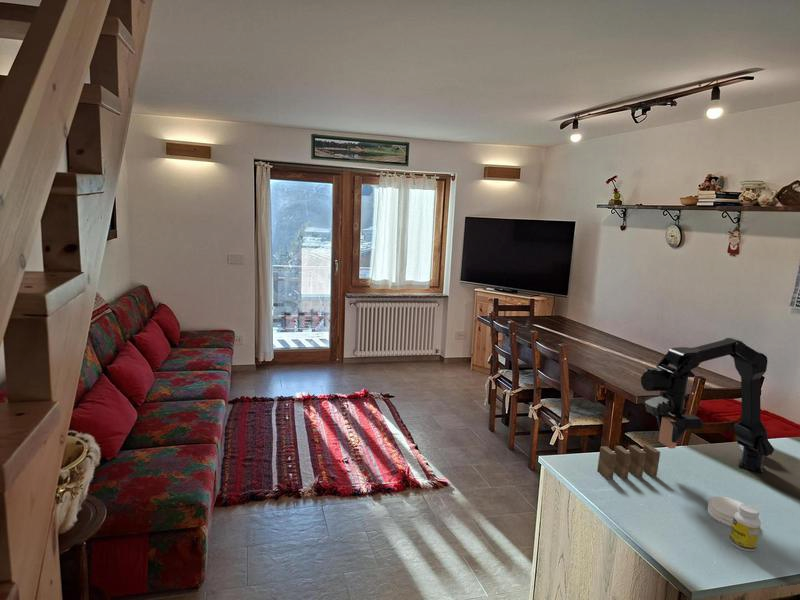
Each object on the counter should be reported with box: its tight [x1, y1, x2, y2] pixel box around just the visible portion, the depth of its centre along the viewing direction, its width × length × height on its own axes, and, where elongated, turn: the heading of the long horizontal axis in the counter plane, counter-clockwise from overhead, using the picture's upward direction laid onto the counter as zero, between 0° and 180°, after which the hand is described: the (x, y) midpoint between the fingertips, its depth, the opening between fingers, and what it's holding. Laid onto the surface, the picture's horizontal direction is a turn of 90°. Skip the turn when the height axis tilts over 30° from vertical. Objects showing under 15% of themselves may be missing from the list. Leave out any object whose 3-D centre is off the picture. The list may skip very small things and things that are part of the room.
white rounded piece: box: [707, 495, 744, 528], centre depth 135 cm, size 10×10×4 cm
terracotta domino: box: [658, 417, 677, 449], centre depth 157 cm, size 2×5×8 cm, turn 12°
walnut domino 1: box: [596, 445, 616, 480], centre depth 154 cm, size 2×5×8 cm, turn 12°
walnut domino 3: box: [628, 444, 646, 478], centre depth 156 cm, size 2×5×8 cm, turn 12°
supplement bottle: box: [729, 503, 762, 552], centre depth 123 cm, size 5×5×10 cm
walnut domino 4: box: [642, 444, 661, 478], centre depth 157 cm, size 2×5×8 cm, turn 12°
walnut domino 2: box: [613, 445, 631, 479], centre depth 155 cm, size 2×5×8 cm, turn 12°
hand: (667, 438), depth 157 cm, fingers closed on terracotta domino, 5 cm apart
